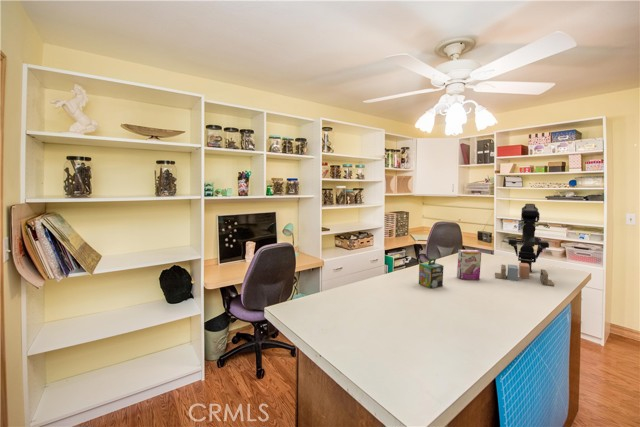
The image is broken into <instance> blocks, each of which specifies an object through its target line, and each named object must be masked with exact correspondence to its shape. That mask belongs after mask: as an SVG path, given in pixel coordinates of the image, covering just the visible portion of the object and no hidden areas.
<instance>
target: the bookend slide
mask: <svg viewBox="0 0 640 427" xmlns="http://www.w3.org/2000/svg"><path fill="white" fill-rule="evenodd" d="M539 280H540V282H541V284H542V285H543V286H549V287H555V284H554V282H553V280H552V279H549V273H548V271H547V270H546V269H544V268H541V269H540V277H539Z"/></svg>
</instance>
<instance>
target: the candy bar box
mask: <svg viewBox="0 0 640 427" xmlns="http://www.w3.org/2000/svg"><path fill="white" fill-rule="evenodd" d="M457 252H458V254H457V269H456V270H457V271H456V278H458V279H459V280H477V281H479V280H480V277H481V265H482V264H481V263H482V251H480V250H477V249H458V250H457Z"/></svg>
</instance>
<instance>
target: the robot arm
mask: <svg viewBox="0 0 640 427" xmlns="http://www.w3.org/2000/svg"><path fill="white" fill-rule="evenodd" d="M520 215H521V216H520V217H521V218H520V221H521V222H522V233H521V240H517V238H508V239H507V244H508V245H510V246H511V247H513V249H514V252H515V256H516V257H518V258H517V261H519V262H520V263H527V264H529V266H530V272H529V273H533V270H532V265H533V264H534V263H536V262H537V259H538V258H539V256H540V254H541V253H542V251H543V250H546V249H549V248H550V244H549V242H548V240H540V237H536V236H535V235H536V234H535V233H536V223H539V221H540V215H541V214H540V212H539V209H538V207H537V206H536V204H535V203H525V204H524V206H523V207H522V208H521V214H520ZM518 245H522V246H521V247H520V248H519V251H518ZM535 246H537V248H536V252H535V249H534V247H535ZM532 263H533V264H532Z"/></svg>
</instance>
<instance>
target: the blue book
mask: <svg viewBox="0 0 640 427" xmlns="http://www.w3.org/2000/svg"><path fill="white" fill-rule="evenodd" d="M506 274H507V276H506V278H507V280H509V281H510V280H511V281H515V282H518V278H519V265H516V264H507V272H506Z"/></svg>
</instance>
